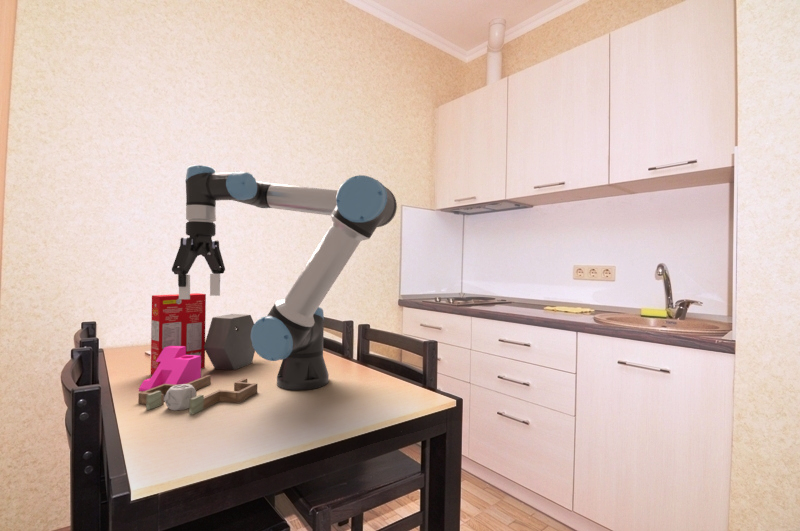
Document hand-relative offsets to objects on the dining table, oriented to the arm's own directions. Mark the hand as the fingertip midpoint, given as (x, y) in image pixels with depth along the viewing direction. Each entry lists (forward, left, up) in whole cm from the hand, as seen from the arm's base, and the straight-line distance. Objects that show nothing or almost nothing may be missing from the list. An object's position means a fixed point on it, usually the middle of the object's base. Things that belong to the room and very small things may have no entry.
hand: (200, 297), depth 114 cm
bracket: (+10, -1, -26) cm, 28 cm away
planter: (+7, -25, -26) cm, 37 cm away
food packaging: (+20, -15, -26) cm, 36 cm away
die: (-5, +13, -26) cm, 30 cm away
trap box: (-5, +6, -26) cm, 27 cm away
